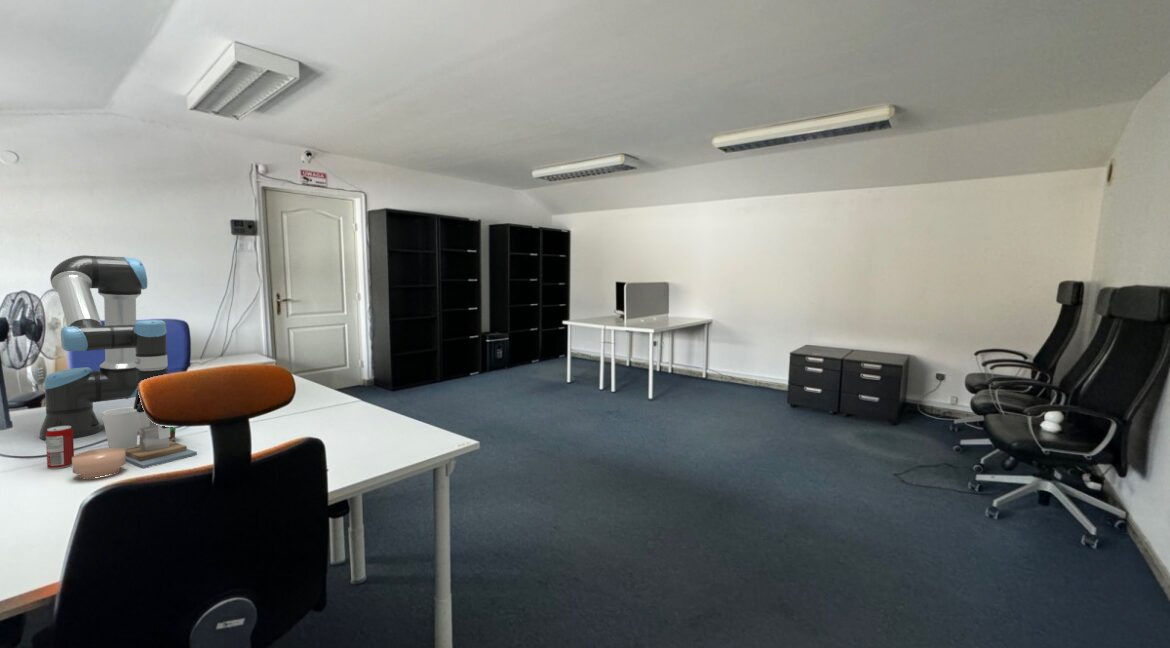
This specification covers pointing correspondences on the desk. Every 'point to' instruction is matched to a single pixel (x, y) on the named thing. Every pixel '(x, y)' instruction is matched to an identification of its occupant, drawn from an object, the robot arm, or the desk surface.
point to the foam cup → (121, 427)
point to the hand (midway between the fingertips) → (154, 434)
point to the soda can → (59, 447)
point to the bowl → (98, 462)
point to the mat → (161, 459)
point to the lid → (153, 445)
